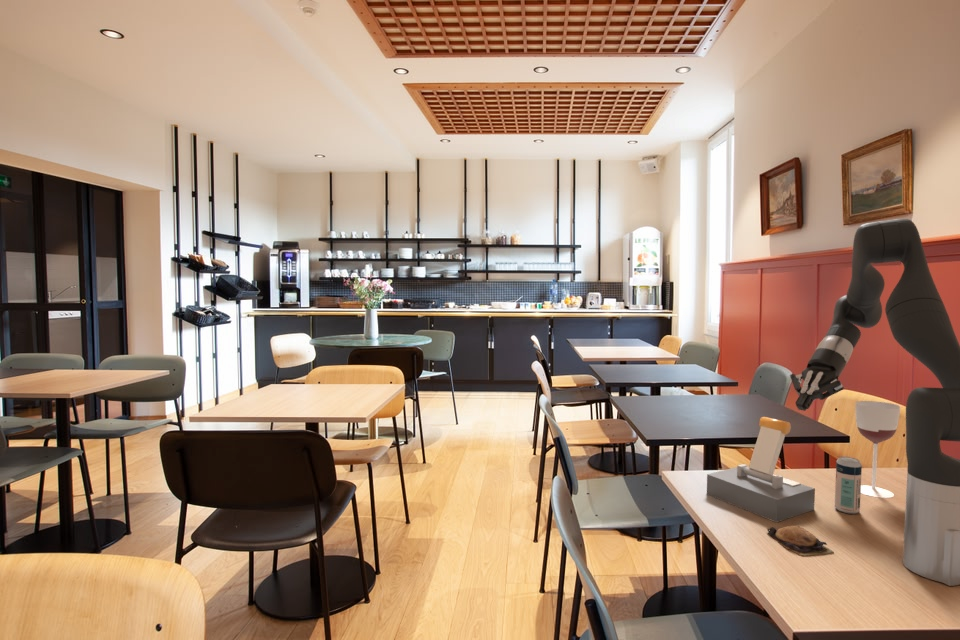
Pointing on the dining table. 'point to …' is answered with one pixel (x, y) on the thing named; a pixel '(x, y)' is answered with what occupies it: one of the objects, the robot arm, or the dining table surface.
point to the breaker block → (761, 493)
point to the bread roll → (799, 541)
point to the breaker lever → (767, 448)
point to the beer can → (848, 485)
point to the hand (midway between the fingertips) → (800, 408)
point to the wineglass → (876, 434)
